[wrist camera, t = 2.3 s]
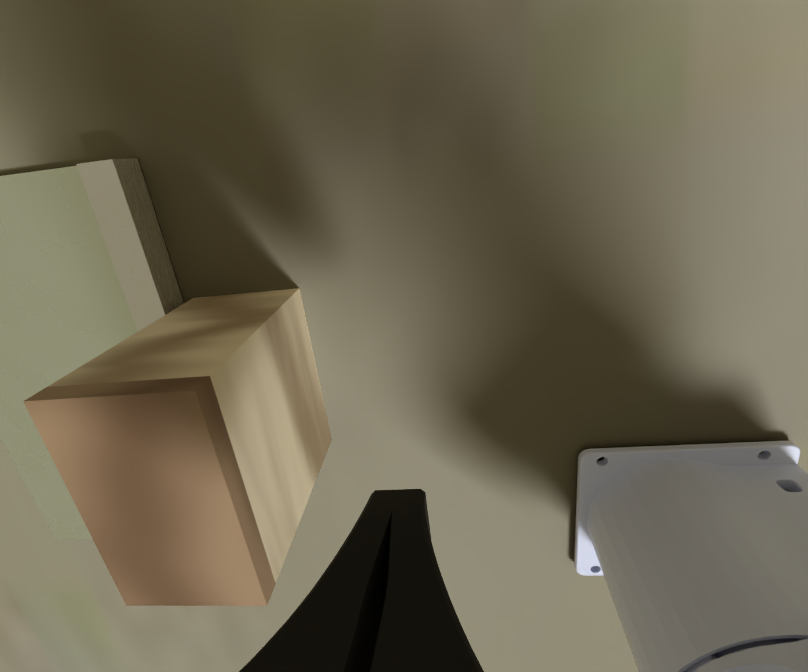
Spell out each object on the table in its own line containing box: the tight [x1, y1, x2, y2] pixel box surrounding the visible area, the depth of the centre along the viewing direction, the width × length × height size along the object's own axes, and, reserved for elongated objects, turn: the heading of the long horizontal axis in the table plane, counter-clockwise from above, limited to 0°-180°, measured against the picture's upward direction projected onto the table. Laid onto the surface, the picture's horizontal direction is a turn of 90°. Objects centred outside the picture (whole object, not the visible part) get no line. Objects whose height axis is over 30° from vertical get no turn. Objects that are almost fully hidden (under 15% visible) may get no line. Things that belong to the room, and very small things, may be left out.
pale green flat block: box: [0, 158, 184, 540], centre depth 22 cm, size 13×20×2 cm, turn 7°
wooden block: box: [23, 288, 332, 606], centre depth 18 cm, size 5×8×9 cm, turn 7°
